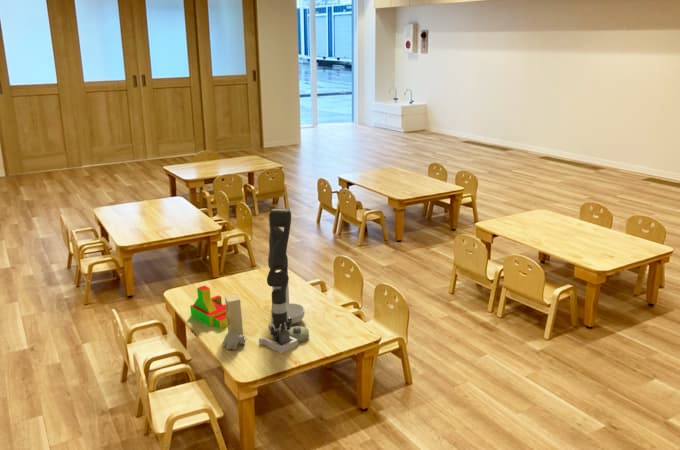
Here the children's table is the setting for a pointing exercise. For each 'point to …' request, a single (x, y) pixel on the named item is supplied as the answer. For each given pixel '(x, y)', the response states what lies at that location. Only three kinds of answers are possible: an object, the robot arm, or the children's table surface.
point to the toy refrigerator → (234, 314)
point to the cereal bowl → (295, 312)
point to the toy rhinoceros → (233, 340)
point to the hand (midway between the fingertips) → (281, 339)
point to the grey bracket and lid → (296, 336)
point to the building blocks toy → (209, 309)
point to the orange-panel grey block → (283, 337)
